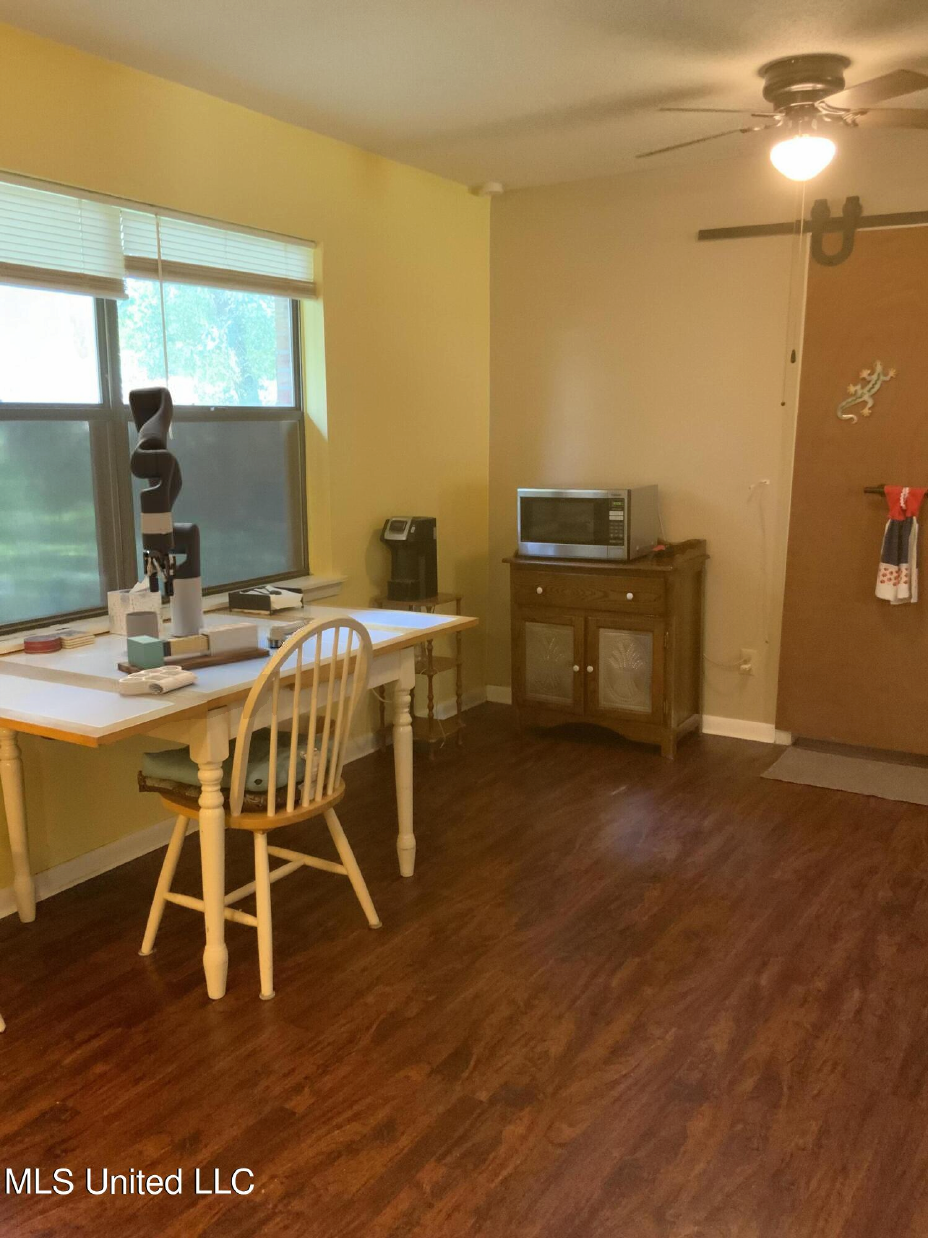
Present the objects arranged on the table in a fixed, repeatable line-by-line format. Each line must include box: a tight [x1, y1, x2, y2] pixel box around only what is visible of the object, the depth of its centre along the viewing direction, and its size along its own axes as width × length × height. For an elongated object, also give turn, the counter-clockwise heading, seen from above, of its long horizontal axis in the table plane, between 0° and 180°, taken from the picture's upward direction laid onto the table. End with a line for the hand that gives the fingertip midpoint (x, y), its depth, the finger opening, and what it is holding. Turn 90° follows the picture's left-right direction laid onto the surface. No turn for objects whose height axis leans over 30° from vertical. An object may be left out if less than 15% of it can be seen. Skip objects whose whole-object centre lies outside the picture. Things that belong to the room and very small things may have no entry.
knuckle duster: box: [118, 666, 198, 696], centre depth 243 cm, size 3×18×15 cm
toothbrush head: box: [266, 619, 310, 648], centre depth 297 cm, size 5×7×25 cm
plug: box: [161, 634, 209, 657], centre depth 266 cm, size 4×22×4 cm, turn 131°
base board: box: [117, 646, 271, 674], centre depth 269 cm, size 14×36×2 cm, turn 131°
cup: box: [125, 610, 160, 640], centre depth 287 cm, size 8×8×10 cm
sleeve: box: [199, 621, 260, 656], centre depth 274 cm, size 6×14×6 cm, turn 131°
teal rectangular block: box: [126, 635, 164, 669], centre depth 259 cm, size 10×5×6 cm, turn 41°
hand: (161, 594), depth 262 cm, fingers open, 8 cm apart
